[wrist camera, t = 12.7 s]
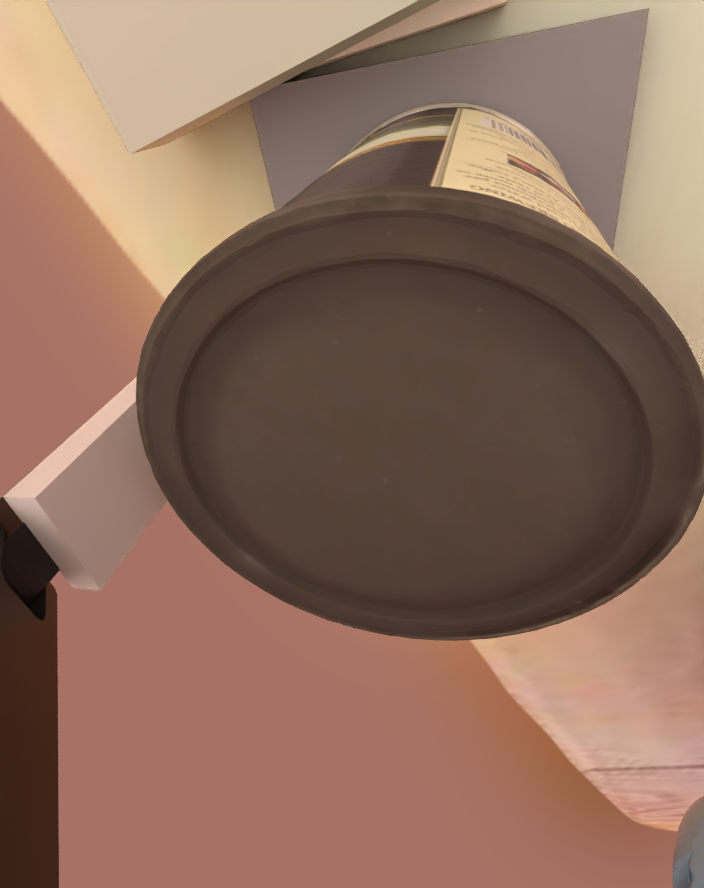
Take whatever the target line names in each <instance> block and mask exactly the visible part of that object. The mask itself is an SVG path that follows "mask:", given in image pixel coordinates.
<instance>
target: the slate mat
mask: <svg viewBox="0 0 704 888" xmlns="http://www.w3.org/2000/svg"><path fill="white" fill-rule="evenodd" d="M648 11H649V8H648V9H644V10H639V11H634V12H629V13H624V14H619V15H614V16H610V17H605V18H600V19H595V20H590V21H585V22H580V23H575V24H571V25H566V26H561V27H556V28H551V29H546V30H541V31H537V32H532V33H527V34H522V35H517V36H512V37H507V38H502V39H498V40H493V41H488V42H483V43H478V44H473V45H468V46H464V47H459V48H454V49H449V50H444V51H439V52H434V53H429V54H425V55H420V56H415V57H410V58H405V59H400V60H395V61H391V62H386V63H381V64H376V65H371V66H366V67H361V68H357V69H352V70H347V71H342V72H337V73H332V74H327V75H322V76H318V77H313V78H308V79H303V80H298V81H293V82H288V83H284V84H280V85H278V86H276V87H274V88H272V89H270V90H268V91H266V92H264V93H262V94H260V95H259V96H257V97H255V98H253V99H251V100H250V103H251V107H252V112H253V116H254V120H255V124H256V129H257V133H258V137H259V142H260V146H261V150H262V154H263V159H264V163H265V167H266V171H267V176H268V180H269V184H270V189H271V193H272V197H273V201H274V206H275V210H279V209H281V208H282V207H283V206H284V205H285V204H286V203H287V202H289V201H290V200H291V199H293V198H294V197H295V196H297V195H298V194H299V193H300V192H302V191H303V190H304V189H305V188H306V187H308V186H309V185H310V184H311V183H313V182H314V181H315V180H317V179H318V178H319V177H320V176H322V175H323V174H324V173H325V172H326V171H327V170H329V169H330V168H331V167H332V166H334V165H335V164H336V163H337V162H338V161H339V160H341V159H342V158H343V157H344V156H345V155H347V154H348V152H349V151H350V150H351V149H352V148H353V147H354V146H355V145H356V144H357V143H358V141H360V140H361V139H362V138H363V137H365V136H366V135H367V134H368V133H370V132H371V131H372V130H373V129H375V128H376V127H378V126H379V125H381V124H382V123H384V122H385V121H387V120H389V119H391V118H393V117H395V116H397V115H399V114H401V113H404V112H407V111H409V110H412V109H415V108H419V107H422V106H427V105H432V104H440V103H468V104H471V105H478V106H482V107H486V108H489V109H492V110H495V111H497V112H500V113H502V114H504V115H506V116H508V117H510V118H512V119H514V120H516V121H517V122H519V123H520V124H522V125H523V126H525V127H526V128H527V129H529V130H530V131H531V132H532V133H533V134H534V135H536V136H537V137H538V138H539V139H540V140H541V141H542V142H543V144H544V145H545V146H546V147H547V148H548V149H549V150H550V152H551V153H552V155H553V156H554V158H555V159H556V160H557V162H558V163H559V164H560V167H561V169H562V171H563V173H564V175H565V178H566V180H567V183H568V185H569V187H570V188H571V190H572V191H573V193H574V194H575V196H576V197H577V199H578V200H579V202H580V203H581V205H582V206H583V208H584V210H585V211H586V212H587V213H588V215H589V217H590V218H591V220H592V221H593V223H594V225H595V226H596V227H597V228H598V230H599V232H600V233H601V235H602V237H603V238H604V240H605V241H606V243H607V244H608V246H609V247H610V248H611V250H612V252H613V245H614V238H615V231H616V225H617V218H618V211H619V205H620V198H621V191H622V185H623V178H624V171H625V165H626V158H627V151H628V145H629V138H630V131H631V125H632V118H633V111H634V105H635V98H636V91H637V85H638V78H639V71H640V65H641V58H642V51H643V45H644V38H645V31H646V24H647V18H648Z"/></svg>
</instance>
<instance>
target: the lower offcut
mask: <svg viewBox="0 0 704 888" xmlns="http://www.w3.org/2000/svg"><path fill="white" fill-rule="evenodd" d="M507 1H508V0H440V1H438V2H436V3H434V4H432V5H431V6H429V7H427V8H425V9H423V10H421V11H419V12H417V13H415V14H413V15H411V16H409V17H408V18H406V19H404V20H402V21H400V22H398V23H396V24H394V25H392V26H390V27H388V28H387V29H385V30H383V31H381V32H379V33H377V34H375V35H373V36H371V37H369V38H367V39H366V40H364V41H362V42H360V43H358V44H356V45H354V46H352V47H350V48H348V49H346V50H345V51H343V52H341V53H339V54H337V55H335V56H333V57H331V58H329V59H327V60H325V61H324V62H322V63H320V64H318V65H316V66H314V67H312V68H310V69H308V70H311V69H314V68H317V67H320V66H323V65H326V64H329V63H332V62H335V61H338V60H341V59H344V58H347V57H350V56H353V55H356V54H360V53H363V52H366V51H369V50H372V49H375V48H378V47H381V46H384V45H387V44H390V43H393V42H396V41H399V40H402V39H405V38H408V37H411V36H414V35H417V34H420V33H423V32H426V31H429V30H432V29H435V28H438V27H441V26H444V25H447V24H450V23H454V22H457V21H460V20H463V19H466V18H469V17H472V16H475V15H478V14H481V13H484V12H487V11H490V10H493V9H496V8H499V7H502V6H505V5H506V3H507ZM308 70H306V71H308ZM304 72H305V71H304Z"/></svg>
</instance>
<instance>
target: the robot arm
mask: <svg viewBox="0 0 704 888" xmlns="http://www.w3.org/2000/svg"><path fill="white" fill-rule="evenodd" d="M703 379H704V375H703ZM136 380H137V377H136V378H135V379H134V380H133V381H132V382H131V383H129V384H128V385H127V386H126V387H125V388H124V389H123V390H122V391H121V392H119V393H118V395H116V396H115V397H114V398H113V399H112V400H110V402H108V403H107V404H106V405H105V406H104V407H103V408H101V409H100V410H99V411H98V412H97V413H96V414H95V415H94V416H93V417H91V418H90V419H89V420H88V421H87V422H86V423H85V424H84V425H83V426H81V427H80V428H79V429H78V430H77V431H76V432H75V433H74V434H72V435H71V436H70V437H69V438H68V439H67V440H66V441H65V442H63V443H62V444H61V445H60V446H59V447H58V448H57V449H55V450H54V451H53V452H52V453H51V454H50V455H49V456H48V457H47V458H45V459H44V460H43V461H42V462H41V463H40V464H39V465H38V466H37V467H36V468H35V469H33V470H32V471H31V472H30V473H29V474H28V475H26V476H25V477H24V478H23V479H22V480H21V481H20V482H19V483H17V484H16V485H15V486H14V487H13V488H12V489H11V490H10V491H8V493H6V494H5V495H4V496H3V497H2V498H1V499H0V888H59V848H58V847H59V844H58V843H59V842H58V692H57V691H58V687H57V683H58V679H57V593H56V590H55V588H54V587H53V585H52V584H51V583H50V581H51V579H52V578H53V577H54V576H55V575H56V573H57V572H58V571H60V572H61V573H62V575H63V576H64V577H65V578H66V580H67V581H68V582H69V584H70V585H71V586H72V588H78V589H88V590H99V591H101V590H102V589H103V588H104V586H105V585H106V584H107V582H108V581H109V580H110V578H111V577H112V575H113V574H114V573H115V571H116V570H117V569H118V567H119V566H120V564H121V563H122V562H123V560H124V559H125V558H126V556H127V555H128V553H129V552H130V551H131V550H132V548H133V547H134V545H135V544H136V543H137V541H138V540H139V539H140V537H141V536H142V535H143V533H144V532H145V530H146V529H147V528H148V526H149V525H150V523H151V522H152V521H153V520H154V518H155V517H156V515H157V514H158V513H159V511H160V510H161V509H162V507H163V506H164V504H165V503H166V502H167V498H166V497H165V495H164V493H163V492H162V490H161V489H160V487H159V485H158V483H157V481H156V479H155V477H154V474H153V472H152V469H151V465H150V463H149V461H148V459H147V457H146V455H145V451H144V447H143V442H142V438H141V434H140V429H139V424H138V419H137V406H136ZM673 888H704V796H703V797H701V798H699V799H698V800H697V801H695V802H694V803H693V804H692V805H691V807H690V808H689V809H688V810H687V812H686V813H685V815H684V817H683V819H682V821H681V824H680V827H679V830H678V834H677V838H676V843H675V848H674V857H673Z"/></svg>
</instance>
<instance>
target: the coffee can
mask: <svg viewBox="0 0 704 888" xmlns="http://www.w3.org/2000/svg"><path fill="white" fill-rule="evenodd" d="M136 406H137V419H138V424H139V429H140V434H141V438H142V442H143V447H144V451H145V455H146V457H147V459H148V461H149V463H150V465H151V469H152V472H153V474H154V477H155V479H156V481H157V483H158V485H159V487H160V489H161V490H162V492H163V493H164V495H165V497H166V498H167V500H168V501H169V503H170V504H171V506H172V507H173V509H174V510H175V512H176V513H177V515H178V516H179V518H180V519H181V520H182V521H183V522H184V524H185V525H186V526H187V527H188V528H189V530H190V531H191V532H192V533H193V534H194V535H195V536H196V537H197V538H198V539H199V540H200V541H201V542H202V543H203V544H204V545H205V546H206V547H207V548H208V549H209V550H210V551H211V552H212V553H213V554H215V555H216V556H217V557H218V558H219V559H220V560H221V561H222V562H224V563H225V564H226V565H227V566H229V567H230V568H232V569H233V570H234V571H236V572H237V573H238V574H240V575H241V576H242V577H244V578H245V579H247V580H248V581H250V582H252V583H253V584H255V585H256V586H258V587H260V588H261V589H263V590H264V591H266V592H268V593H269V594H271V595H273V596H275V597H276V598H278V599H280V600H282V601H284V602H286V603H288V604H290V605H293V606H294V607H297V608H299V609H301V610H303V611H306V612H309V613H311V614H314V615H316V616H319V617H321V618H324V619H326V620H329V621H332V622H337V623H341V624H343V625H346V626H350V627H353V628H357V629H362V630H366V631H370V632H374V633H379V634H384V635H389V636H399V637H405V638H413V639H426V640H453V641H455V640H474V639H489V638H497V637H503V636H509V635H515V634H521V633H525V632H530V631H535V630H539V629H542V628H544V627H548V626H551V625H555V624H559V623H561V622H564V621H566V620H569V619H572V618H574V617H577V616H579V615H582V614H584V613H586V612H588V611H590V610H592V609H595V608H597V607H599V606H601V605H603V604H605V603H607V602H608V601H610V600H612V599H613V598H615V597H617V596H618V595H620V594H622V593H623V592H624V591H626V590H627V589H629V588H630V587H632V586H633V585H634V584H636V583H637V582H638V581H639V580H640V579H641V578H643V577H644V576H646V575H647V574H648V573H649V572H650V571H651V570H652V569H653V568H654V567H655V566H656V565H658V564H659V563H660V562H661V561H662V560H663V559H664V558H665V557H666V556H667V555H668V553H669V552H670V551H671V550H672V549H673V547H674V546H675V545H676V544H677V543H678V542H679V541H680V539H681V538H682V536H683V535H684V533H685V532H686V530H687V528H688V526H689V524H690V522H691V521H692V520H693V518H694V516H695V514H696V512H697V510H698V507H699V505H700V502H701V499H702V497H703V494H704V379H703V376H702V373H701V370H700V368H699V365H698V363H697V361H696V359H695V357H694V355H693V353H692V351H691V349H690V347H689V345H688V343H687V341H686V339H685V337H684V335H683V334H682V333H681V331H680V330H679V328H678V327H677V326H676V324H675V323H674V321H673V320H672V318H671V317H670V316H669V314H668V313H667V312H666V311H665V309H664V308H663V307H662V306H661V305H660V303H659V302H658V301H657V300H656V299H655V298H654V297H653V295H652V294H651V293H650V292H649V291H648V290H647V289H646V288H645V286H644V285H643V284H642V283H641V282H640V281H639V280H638V279H637V278H636V277H635V276H634V275H633V274H632V273H631V272H629V271H628V270H627V269H626V268H625V267H624V266H623V265H622V264H620V263H619V261H618V260H617V258H616V257H615V255H614V253H613V252H612V250H611V248H610V247H609V246H608V244H607V243H606V241H605V240H604V238H603V237H602V235H601V233H600V232H599V230H598V228H597V227H596V226H595V225H594V223H593V221H592V220H591V218H590V217H589V215H588V213H587V212H586V211H585V210H584V208H583V206H582V205H581V203H580V202H579V200H578V199H577V197H576V196H575V194H574V193H573V191H572V190H571V188H570V187H569V185H568V183H567V180H566V178H565V175H564V173H563V171H562V169H561V167H560V164H559V163H558V162H557V160H556V159H555V158H554V156H553V155H552V153H551V152H550V150H549V149H548V148H547V147H546V146H545V145H544V144H543V142H542V141H541V140H540V139H539V138H538V137H537V136H536V135H534V134H533V133H532V132H531V131H530V130H529V129H527V128H526V127H525V126H523V125H522V124H520V123H519V122H517V121H516V120H514V119H512V118H510V117H508V116H506V115H504V114H502V113H500V112H497V111H495V110H492V109H489V108H486V107H482V106H478V105H471V104H468V103H440V104H432V105H427V106H422V107H419V108H415V109H412V110H409V111H407V112H404V113H401V114H399V115H397V116H395V117H393V118H391V119H389V120H387V121H385V122H384V123H382V124H381V125H379V126H378V127H376V128H375V129H373V130H372V131H371V132H370V133H368V134H367V135H366V136H365V137H363V138H362V139H361V140H360V141H358V143H357V144H356V145H355V146H354V147H353V148H352V149H351V150H350V151H349V152H348V154H347V155H345V156H344V157H343V158H342V159H341V160H339V161H338V162H337V163H336V164H335V165H334V166H332V167H331V168H330V169H329V170H327V171H326V172H325V173H324V174H323V175H322V176H320V177H319V178H318V179H317V180H315V181H314V182H313V183H311V184H310V185H309V186H308V187H306V188H305V189H304V190H303V191H302V192H300V193H299V194H298V195H297V196H295V197H294V198H293V199H291V200H290V201H289V202H287V203H286V204H285V205H284V206H283V207H282V208H281V209H279V210H276V211H274V212H272V213H270V214H268V215H266V216H264V217H262V218H260V219H258V220H256V221H254V222H252V223H250V224H249V225H247V226H246V227H244V228H243V229H241V230H239V231H238V232H236V233H235V234H233V235H231V236H230V237H228V238H227V239H226V240H225V241H223V242H222V243H221V244H219V245H218V246H217V247H215V248H214V249H213V250H212V251H210V252H209V253H208V254H206V255H205V256H204V257H203V258H201V259H200V260H199V261H198V262H197V263H196V264H195V265H194V266H193V268H192V269H191V270H190V271H189V272H188V273H187V274H186V275H185V276H184V277H183V278H182V279H181V280H180V282H179V283H178V284H177V285H176V287H175V288H174V289H173V290H172V292H171V293H170V294H169V295H168V297H167V298H166V300H165V302H164V303H163V304H162V306H161V308H160V311H159V312H158V314H157V315H156V317H155V318H154V321H153V323H152V325H151V327H150V330H149V332H148V335H147V337H146V340H145V342H144V345H143V348H142V351H141V356H140V361H139V366H138V372H137V380H136Z"/></svg>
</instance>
